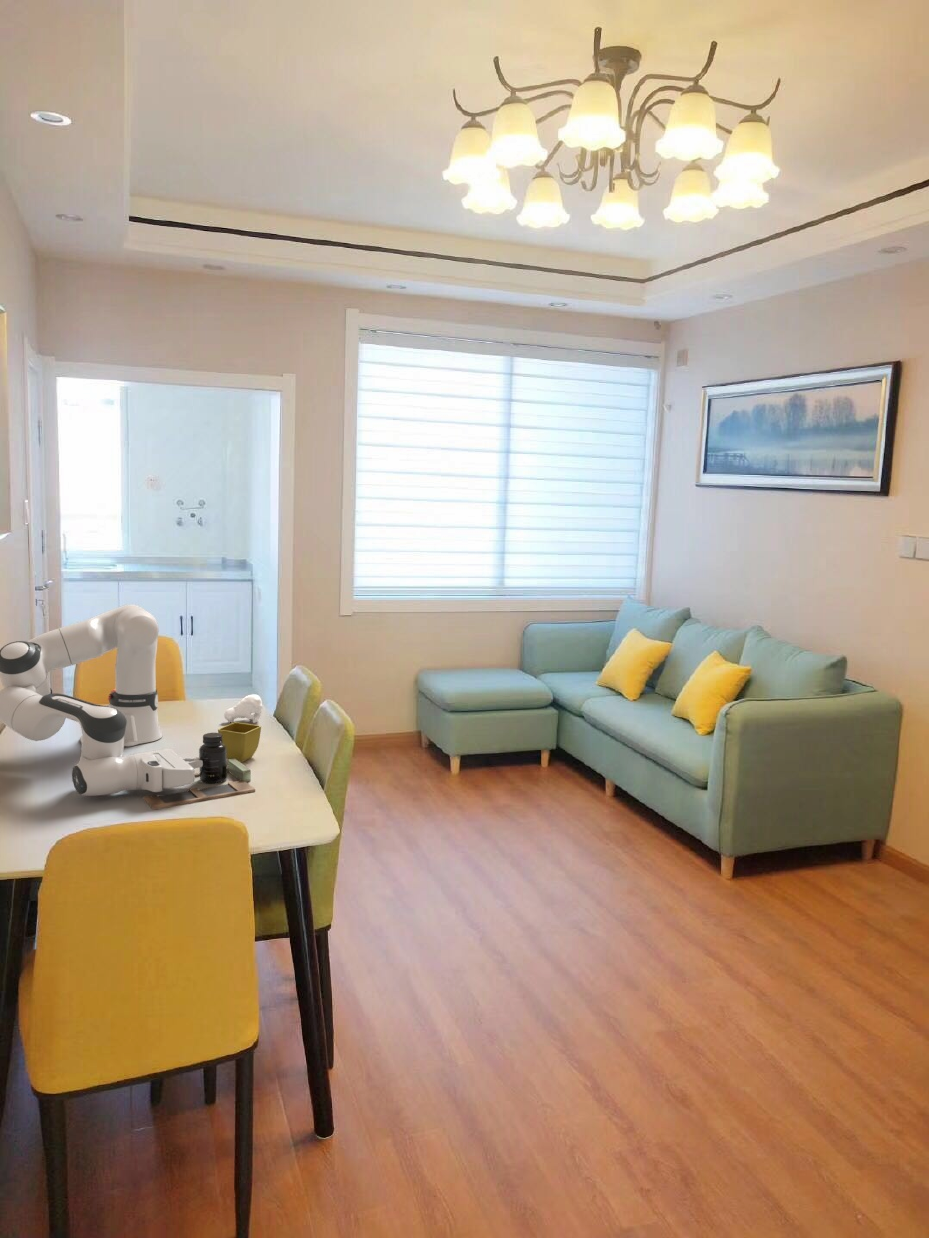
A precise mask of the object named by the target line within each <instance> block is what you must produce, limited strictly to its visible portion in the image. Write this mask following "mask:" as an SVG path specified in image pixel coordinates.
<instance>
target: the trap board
mask: <svg viewBox="0 0 929 1238" xmlns="http://www.w3.org/2000/svg"><path fill="white" fill-rule="evenodd" d="M227 773H230V774H232V775H233V776H234V777H236V778H237V779H238V780H237V781H231V782H227V784H221V785H216V786H209V787H204V788H198V787H194V788H193V787H192V788H189V789H188V790H186V791H184V790H183V791H179V792H172V793H167V794H161V795H157V794H152V795H146V796H143V800H144V801H145V802H146V803H147V805H148V806H149V807H150V808H152V810H159V809H165V808H168V807H174V806H182V805H187V804H191V803H192V804H193V803H197V802H203V801H210V800H214V799H220V798H226V797H231V796H239V795H243V794H248V793H247V792H250V793H253V791H255V792H256V789H255V787H253V786H252V785H250V784H249V783H248V782H251V781H252V780H251V776H252V775H251V769H250V768H248V766H246V765H244V764H243V763H242V762H240V761H238V760H236V759H227ZM197 777H198V778H199V777H200V772H195V778H197Z"/></svg>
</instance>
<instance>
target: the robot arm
mask: <svg viewBox="0 0 929 1238" xmlns="http://www.w3.org/2000/svg"><path fill="white" fill-rule="evenodd" d="M159 631H160V630H159V624H158V620H157V619H156V617H155V616H154V615H153V614H152V613H150V612H149V611H147V610H146V609H144V608H143V607H141V606H140V605H137V604H133V603H131V604H125V605H122V606H119V607H116V608H113V609H111V610H110V609H109V610H108V611H105V612H103V613H100V614H98V615H96V616H93V617H91V618H88V619H86V620H85V619H84V620H82V621H79V622H76V623H73V624H72V623H71V624H69V625H65V626H62V627H58V628H55V629H52V630H50V631H46V632H45V633H42V634H39V635H37V636H35V637H33V638H31V639H29V640H27V641H26V640H25V641H24V640H19V641H12V642H9V643H7V644H4V646H2V647H1V648H0V681H1V684H2V687H3V689H1V690H0V722H1V723H3V724H4V725H5V726H6V727H8V728H9V729H11V730H12V731H13V732H14V733H17V734H18V735H20V736H22V737H23V738H24V739H27V740H29V741H30V740H31V741H36V742H38V741H46V740H48V739H50V738H51V737H53V736H55V735H56V734H57V733H58V732H59V731H60V730H61V729H62V728H63V726H64V724H65V721H66V719H68V720H71V721H74V722H77V723H79V726H80V728H81V736H80V743H81V750H80V751H81V752H80V758H79V761H78V763H77V764H75V765H74V766H73V767H72V770H71V781H72V783H73V787H74V790H75V791H76V792H77V793H78V794H79V795H81V796H85V797H86V796H87V797H88V796H91V797H92V796H93V797H96V796H106V795H107V796H108V795H114V794H118V793H119V792H122V791H138V790H145V791H146V790H147V791H150V792H152V793H160V792H163V789H174V788H179V787H182V786H183V787H184V786H187V785H192V784H193V783H194V782H195V778H196V777H195V773H196V772H195V769H198V768H199V767H202V766H203V761H202V760H201V759H199V756H198V757H181V756H180V755H179V754H177V753H176V752H175V751H174V750H173V749H171V748H163V749H162V748H161V749H156V750H152V751H145V752H137V753H136V752H135V753H129V754H127V755H124V748H125V747H133V746H137V745H141V744H146V743H150V742H154V741H155V742H156V741H158V740H160V739H161V738H162V737H163V732H162V729H161V726H160V722H159V716H158V706H159V695H158V689H156V687H157V686H156V685H157V684H156V683H157V682H156V659H157V652H158V643H159V642H158V641H159ZM115 649H116V658H115V667H114V671H115V674H114V675H115V677H114V678H115V688H114V689H112V690H111V691H110V693H109V695H108V696H107V701H108V703H109V704H107V705H101V704H97V703H93V702H90V701H87V700H84V699H81V698H77V697H74V696H71V695H68V694H64V693H59V692H58V693H55V692H54V693H53V690H52V688H51V684H50V683H51V682H50V679H49V674H48V673H50V672H51V671H55V670H61V669H65V668H69V667H71V666H75V665H78V664H81V663H84V662H87V661H90V660H92V659H97V658H100V657H102V656H104V654H106V653H108V652H111V651H112V650H115ZM123 755H124V756H123Z"/></svg>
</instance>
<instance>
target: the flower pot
mask: <svg viewBox="0 0 929 1238" xmlns="http://www.w3.org/2000/svg"><path fill="white" fill-rule="evenodd" d="M261 732H262V725H257V724H250V723H244V722H237V721H234V722H233V723H232V722H231V723H228V724H227V725H225V726H222V727H220V728H218V729H217V733H221V734H222V739H223V742H222V744H224V745H225V746H226V749H227V760H228V759H236V760H238V761H239V762H240V763H242V762H245V761H247V760H249V759H252V757H253V756H254V755H255V753H256V751H257V749H258V747H259V744H260V738H261Z"/></svg>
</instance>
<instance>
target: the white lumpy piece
mask: <svg viewBox="0 0 929 1238" xmlns="http://www.w3.org/2000/svg"><path fill="white" fill-rule="evenodd" d="M262 710H263V701H262V699H261V697H260V696H259V695H258V694H249V695H246V696H244V697H243V698H242V699H240V700H239V702H237V703H236V705H234V706H233V707H230V708H227V709H226V710H225V711H224V715H223V716H224V719H225V720H226V721H227V722H228V724H232V723H234V722H235V720H236V719H238V718H240V719H245V718H246V719H248V720H252V723H253V724H256V723H257V722H258V721H259V720H260V719H261V716H262ZM230 722H231V723H230Z"/></svg>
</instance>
